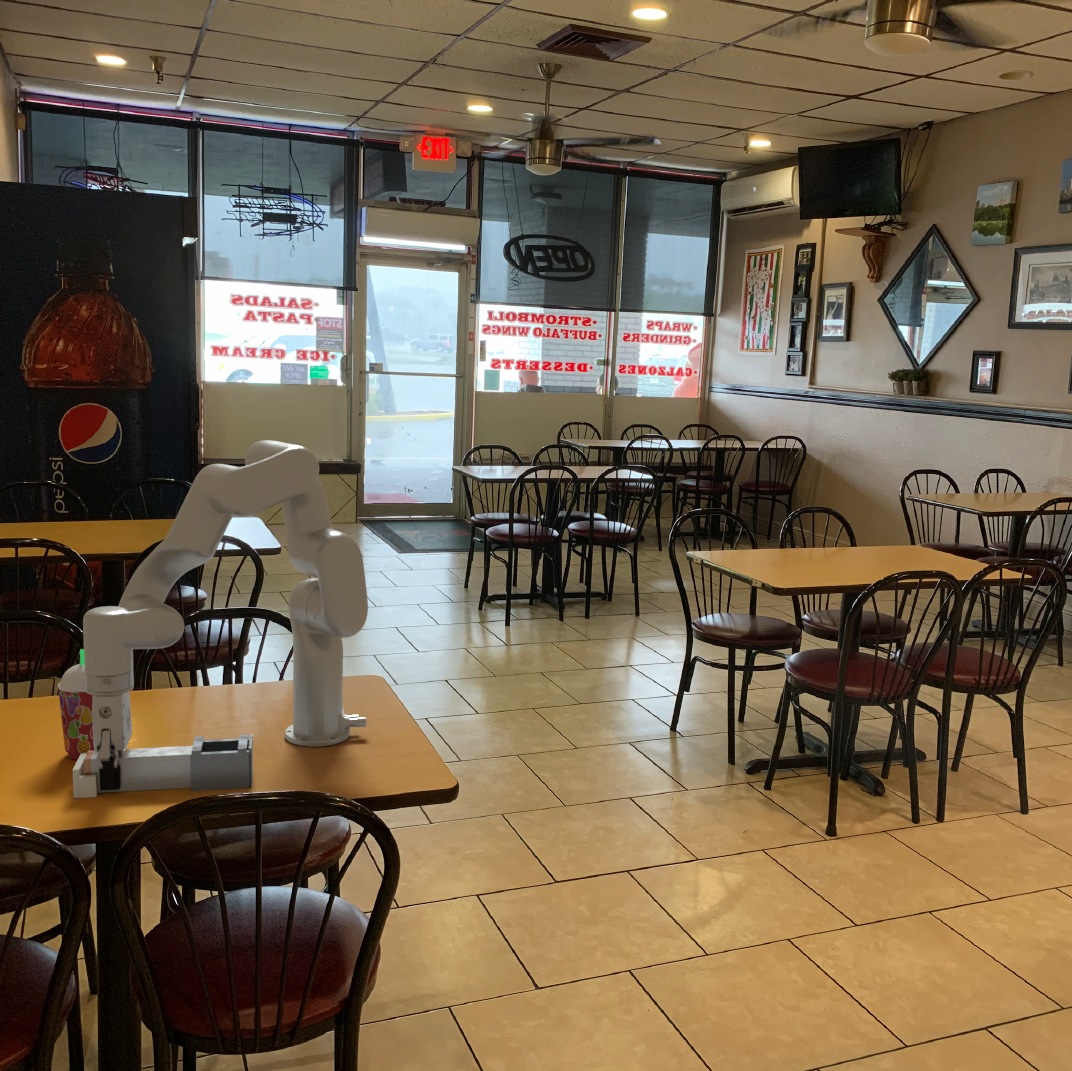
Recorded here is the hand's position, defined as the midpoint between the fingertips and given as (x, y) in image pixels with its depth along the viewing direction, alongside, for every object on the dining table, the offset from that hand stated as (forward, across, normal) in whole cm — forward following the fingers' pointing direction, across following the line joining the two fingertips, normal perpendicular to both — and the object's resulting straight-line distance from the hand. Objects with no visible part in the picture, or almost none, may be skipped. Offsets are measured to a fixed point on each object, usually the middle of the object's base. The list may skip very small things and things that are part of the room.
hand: (112, 782), depth 174 cm
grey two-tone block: (+1, 0, -5) cm, 5 cm away
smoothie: (+1, +16, +7) cm, 17 cm away
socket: (+1, 0, +4) cm, 4 cm away
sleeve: (+1, 0, -18) cm, 18 cm away
